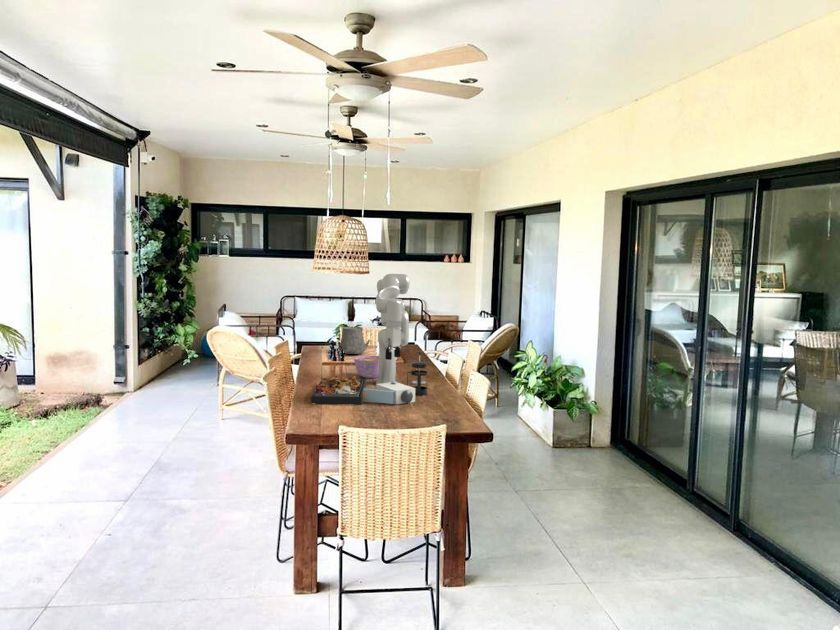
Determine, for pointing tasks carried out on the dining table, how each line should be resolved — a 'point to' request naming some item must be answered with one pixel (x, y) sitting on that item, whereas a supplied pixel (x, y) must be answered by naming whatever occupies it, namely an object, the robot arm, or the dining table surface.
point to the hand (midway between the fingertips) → (392, 358)
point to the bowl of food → (367, 366)
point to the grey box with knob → (399, 391)
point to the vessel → (353, 340)
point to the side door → (379, 396)
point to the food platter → (339, 391)
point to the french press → (419, 377)
